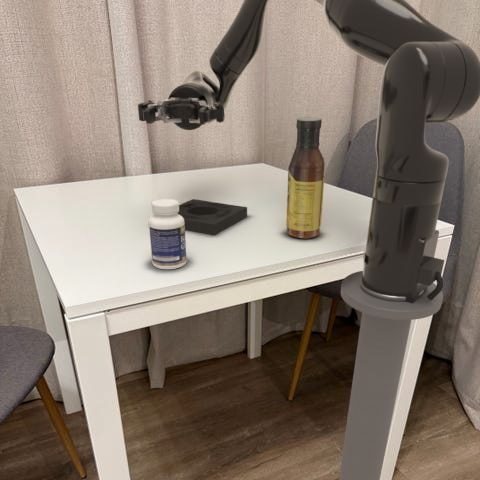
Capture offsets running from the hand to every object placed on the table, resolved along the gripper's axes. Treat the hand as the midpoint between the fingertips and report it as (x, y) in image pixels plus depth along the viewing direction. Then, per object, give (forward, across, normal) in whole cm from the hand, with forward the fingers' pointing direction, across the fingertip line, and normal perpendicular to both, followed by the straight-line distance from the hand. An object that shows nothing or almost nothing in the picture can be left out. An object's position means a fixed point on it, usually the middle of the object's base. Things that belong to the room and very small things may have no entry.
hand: (174, 117), depth 75 cm
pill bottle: (+11, 0, +20) cm, 23 cm away
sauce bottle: (-5, +22, +20) cm, 30 cm away
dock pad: (-12, +2, +21) cm, 24 cm away
